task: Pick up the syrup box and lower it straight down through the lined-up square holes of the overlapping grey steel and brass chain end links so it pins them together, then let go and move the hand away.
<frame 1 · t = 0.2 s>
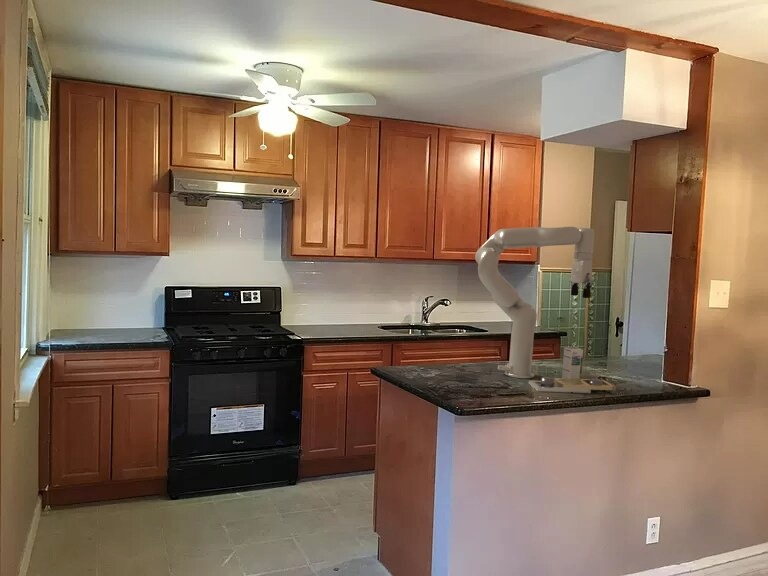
hand: (580, 296, 266), 36 cm above the counter, tool pointing down, fingers open, 9 cm apart
brass end link: (571, 389, 248), on the counter
steel end link: (571, 389, 248), on the counter
syrup box: (571, 382, 262), on the counter
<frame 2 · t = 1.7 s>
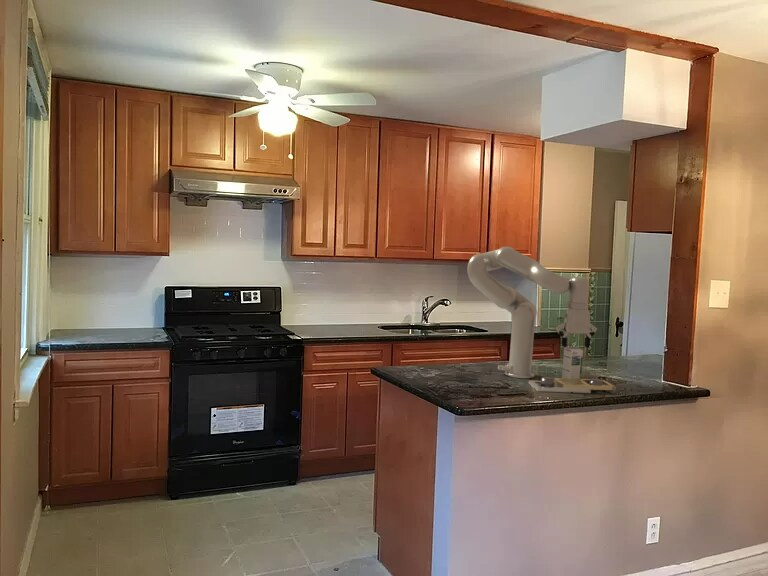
hand: (575, 346, 260), 15 cm above the counter, tool pointing down, fingers open, 9 cm apart
nothing on the counter moved.
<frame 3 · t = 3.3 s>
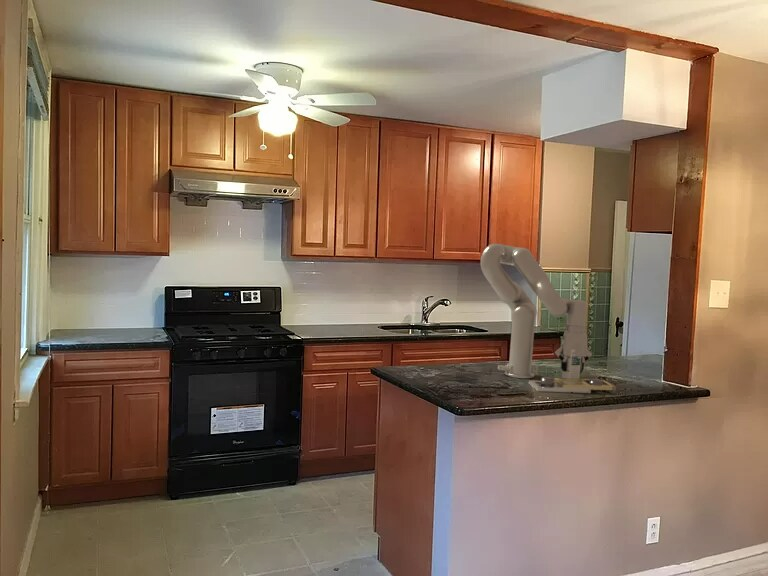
hand: (572, 370, 261), 5 cm above the counter, tool pointing down, fingers closed on syrup box, 6 cm apart
syrup box: (571, 382, 262), on the counter, touching gripper
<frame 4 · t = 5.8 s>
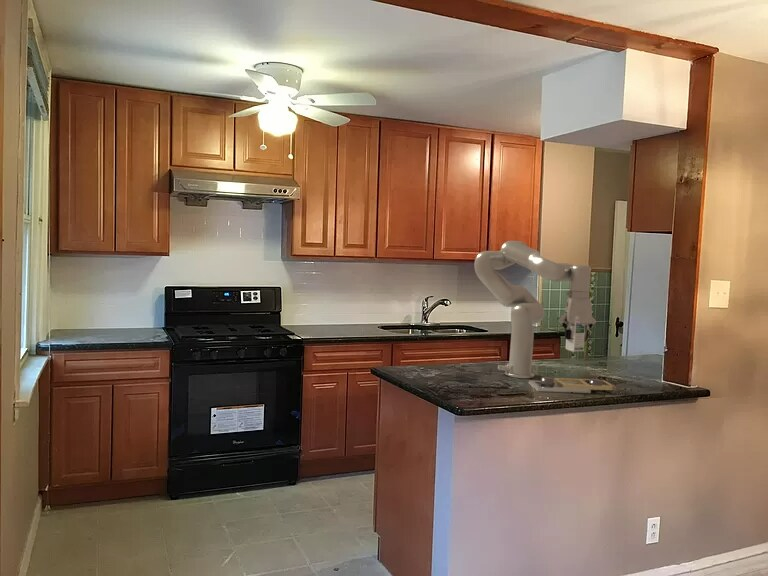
hand: (575, 338, 251), 20 cm above the counter, tool pointing down, fingers closed on syrup box, 6 cm apart
syrup box: (575, 350, 251), point 15 cm above the counter, touching gripper
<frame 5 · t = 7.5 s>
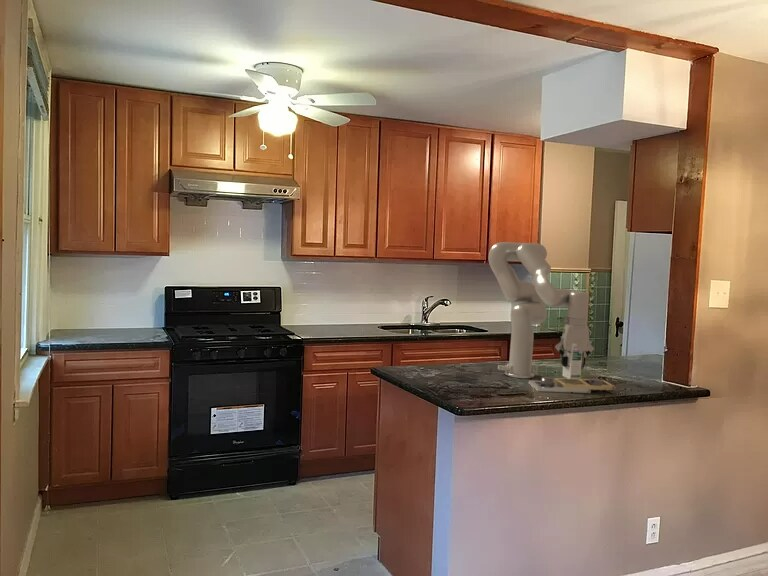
hand: (572, 366, 248), 9 cm above the counter, tool pointing down, fingers closed on syrup box, 6 cm apart
syrup box: (571, 378, 248), point 4 cm above the counter, touching gripper
when the fingers open (6 cm above the counter, at t = 8.7 s): syrup box stays where it is, resting in steel end link.
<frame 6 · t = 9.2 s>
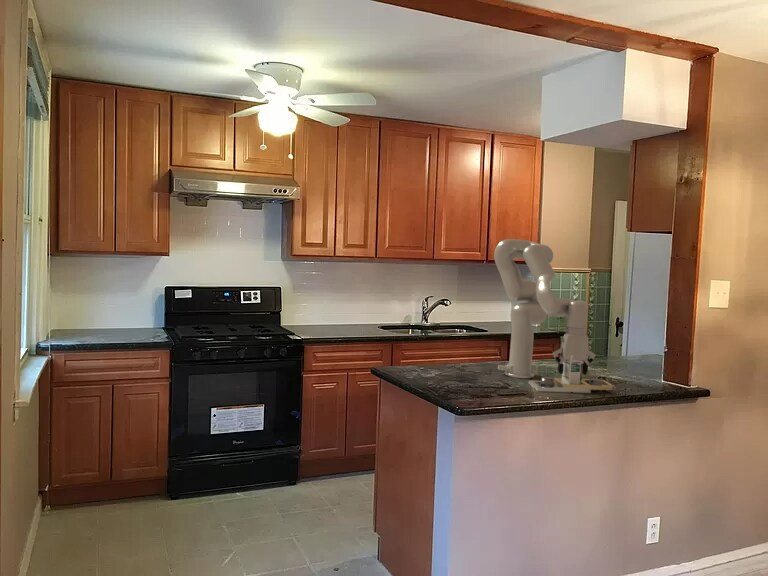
hand: (572, 373, 248), 6 cm above the counter, tool pointing down, fingers open, 9 cm apart
syrup box: (570, 389, 248), resting in steel end link
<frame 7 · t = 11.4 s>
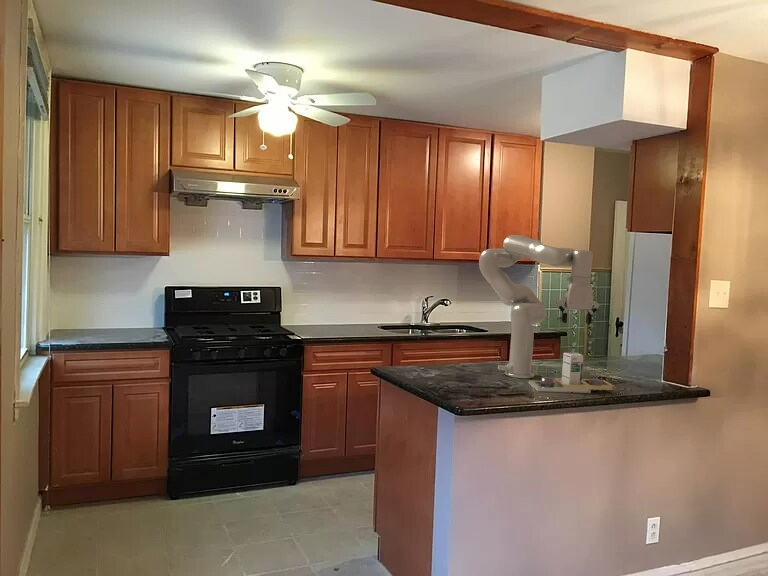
hand: (576, 323, 248), 26 cm above the counter, tool pointing down, fingers open, 9 cm apart
nothing on the counter moved.
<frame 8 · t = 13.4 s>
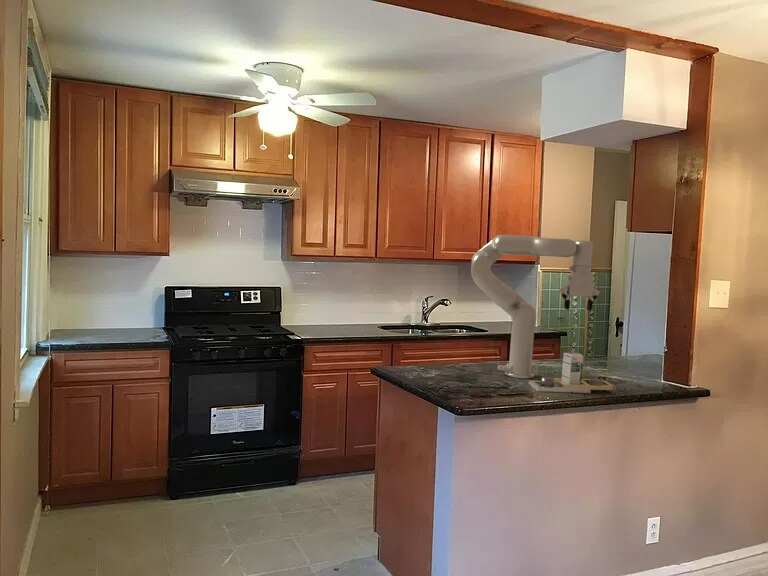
hand: (578, 309, 263), 30 cm above the counter, tool pointing down, fingers open, 9 cm apart
nothing on the counter moved.
at the end: syrup box 0.1 cm off-centre on the brass end link, point 0.0 cm above the brass end link's base; syrup box tilted 0°; the gripper is holding nothing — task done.
